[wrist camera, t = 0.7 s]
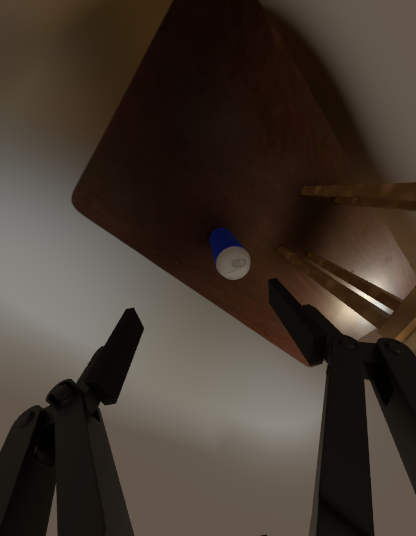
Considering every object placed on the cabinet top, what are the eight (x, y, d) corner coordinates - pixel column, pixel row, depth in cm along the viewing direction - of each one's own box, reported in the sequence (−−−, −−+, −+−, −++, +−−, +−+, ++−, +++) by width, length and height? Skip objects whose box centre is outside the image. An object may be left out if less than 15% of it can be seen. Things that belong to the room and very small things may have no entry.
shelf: (302, 184, 33) (553, 171, 10) (344, 195, 35) (647, 206, 11) (275, 252, 40) (391, 343, 16) (311, 259, 41) (466, 351, 18)
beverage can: (212, 251, 38) (222, 285, 25) (206, 230, 36) (212, 255, 23) (234, 245, 38) (255, 275, 24) (228, 223, 36) (248, 243, 22)
